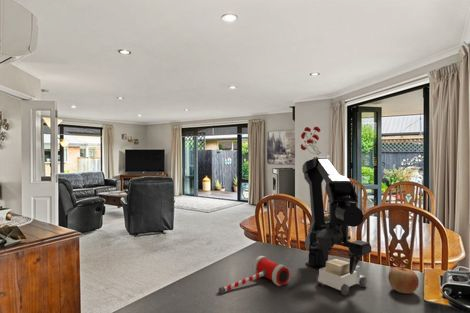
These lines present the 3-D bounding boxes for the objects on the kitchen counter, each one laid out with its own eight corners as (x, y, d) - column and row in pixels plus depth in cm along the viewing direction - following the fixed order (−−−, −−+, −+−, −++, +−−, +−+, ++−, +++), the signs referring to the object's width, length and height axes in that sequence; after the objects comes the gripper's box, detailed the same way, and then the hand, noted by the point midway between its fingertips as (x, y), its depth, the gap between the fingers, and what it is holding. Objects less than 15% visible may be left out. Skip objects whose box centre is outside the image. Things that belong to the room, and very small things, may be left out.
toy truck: (339, 275, 103) (339, 259, 103) (366, 285, 96) (367, 267, 96) (315, 285, 95) (315, 267, 95) (343, 296, 88) (343, 277, 88)
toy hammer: (231, 303, 84) (231, 280, 84) (210, 287, 93) (210, 266, 93) (290, 284, 97) (290, 264, 97) (266, 272, 106) (266, 254, 106)
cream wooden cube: (335, 273, 98) (335, 258, 98) (349, 279, 94) (349, 263, 94) (325, 277, 95) (326, 261, 95) (339, 283, 91) (340, 266, 91)
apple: (381, 288, 94) (382, 262, 94) (399, 284, 97) (400, 259, 97) (405, 299, 87) (405, 271, 87) (424, 295, 90) (424, 268, 90)
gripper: (298, 217, 97) (297, 265, 97) (351, 228, 82) (350, 286, 82) (319, 213, 104) (319, 259, 104) (372, 223, 89) (371, 276, 89)
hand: (337, 269), depth 94 cm, fingers open, 9 cm apart
